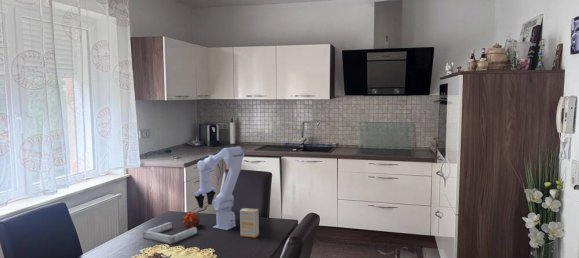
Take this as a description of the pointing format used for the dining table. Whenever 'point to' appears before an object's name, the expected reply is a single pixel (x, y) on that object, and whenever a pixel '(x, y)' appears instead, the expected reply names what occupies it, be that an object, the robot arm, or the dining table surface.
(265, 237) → the dining table surface
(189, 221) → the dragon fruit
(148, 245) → the dining table surface
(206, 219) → the dining table surface
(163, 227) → the grey u-shaped bracket
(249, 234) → the supplement box
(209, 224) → the dining table surface
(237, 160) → the robot arm
